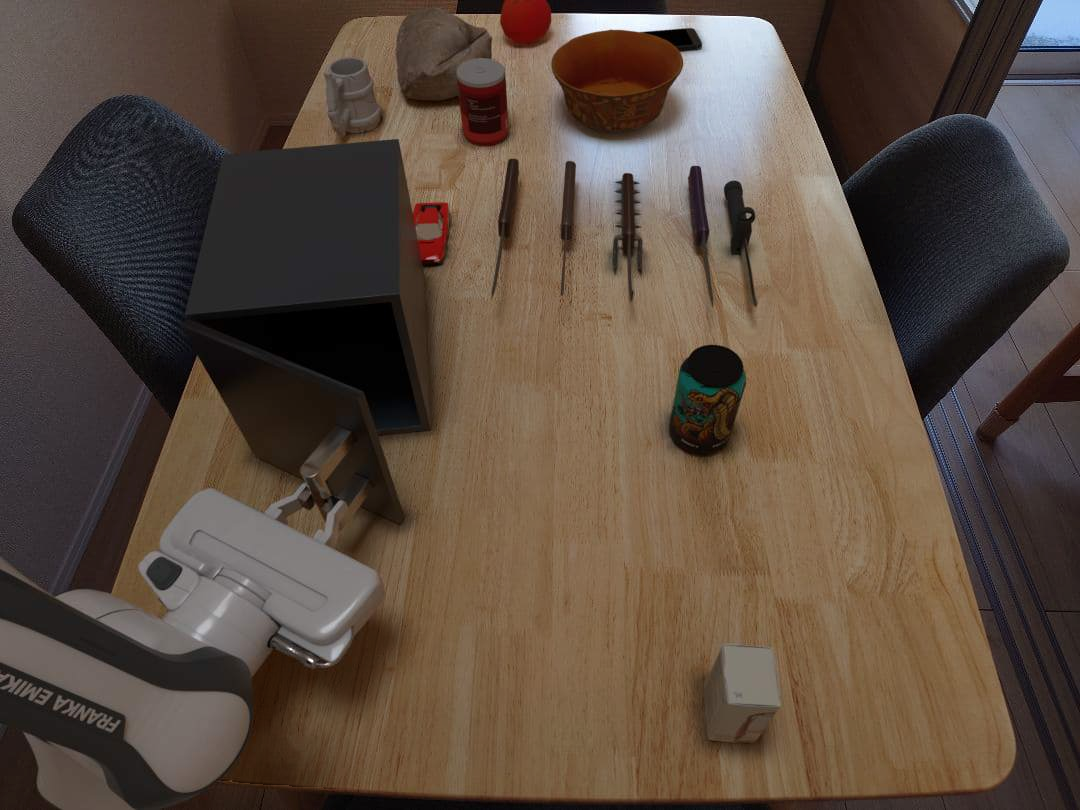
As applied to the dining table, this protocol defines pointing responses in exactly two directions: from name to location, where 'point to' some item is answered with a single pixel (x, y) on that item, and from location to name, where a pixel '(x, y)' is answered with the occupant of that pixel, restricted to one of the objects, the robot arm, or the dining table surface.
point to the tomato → (525, 20)
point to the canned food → (483, 101)
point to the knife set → (698, 215)
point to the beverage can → (707, 399)
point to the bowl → (616, 77)
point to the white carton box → (741, 693)
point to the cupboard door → (301, 422)
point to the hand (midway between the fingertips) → (326, 494)
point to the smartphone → (679, 37)
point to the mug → (351, 96)
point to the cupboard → (322, 270)
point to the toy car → (432, 230)
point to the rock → (436, 52)
